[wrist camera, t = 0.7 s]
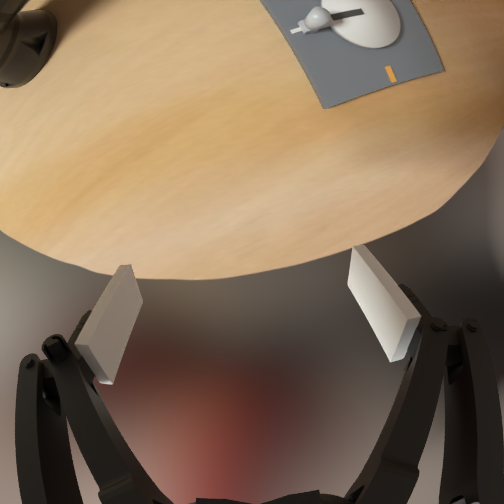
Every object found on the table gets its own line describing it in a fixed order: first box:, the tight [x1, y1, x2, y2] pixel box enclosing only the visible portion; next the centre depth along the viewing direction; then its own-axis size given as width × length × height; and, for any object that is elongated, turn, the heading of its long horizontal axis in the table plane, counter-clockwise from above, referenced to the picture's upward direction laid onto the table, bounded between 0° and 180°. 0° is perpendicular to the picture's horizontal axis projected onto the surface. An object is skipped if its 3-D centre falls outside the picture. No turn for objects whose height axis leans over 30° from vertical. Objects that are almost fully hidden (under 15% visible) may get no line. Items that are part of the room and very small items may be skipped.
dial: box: [298, 0, 400, 49], centre depth 23 cm, size 16×12×5 cm
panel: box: [260, 0, 444, 109], centre depth 25 cm, size 24×24×2 cm
